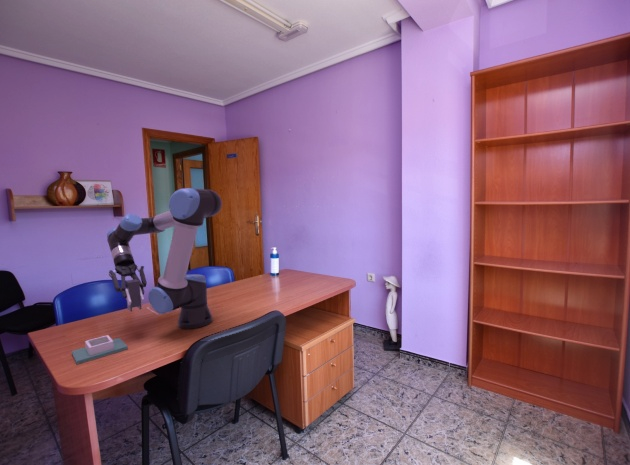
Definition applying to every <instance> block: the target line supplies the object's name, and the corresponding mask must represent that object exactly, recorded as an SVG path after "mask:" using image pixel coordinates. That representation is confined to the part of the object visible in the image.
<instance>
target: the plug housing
mask: <svg viewBox="0 0 630 465" xmlns="http://www.w3.org/2000/svg"><path fill="white" fill-rule="evenodd" d="M125 289H128V292H129V295H130V299H131V305H129V306H128V302H127V301H126V304H127V305H126V307H127V310H129V311H130V312H133V308H138V309H139V310H142V303H141V297H140V283H139V281H138V280H136V279H134V280H133V279H128V280H125Z"/></svg>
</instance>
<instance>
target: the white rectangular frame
mask: <svg viewBox="0 0 630 465" xmlns="http://www.w3.org/2000/svg"><path fill="white" fill-rule="evenodd" d="M146 309H148V310H149V311H150V312H153V313H154V314H156V315H157V316H160V315H161V313H158V312H156V311H155V310H154V311H153V310H152V309H150V306H147V307H146ZM179 309H180V308H178V309H175V310H173V311H171V312H170V313H172V312H175V311H179ZM166 314H169V312H167V313H166Z"/></svg>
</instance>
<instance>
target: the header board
mask: <svg viewBox="0 0 630 465" xmlns="http://www.w3.org/2000/svg"><path fill="white" fill-rule="evenodd" d="M84 343H85V346H84V347H82V348H81V347H80V348H77V349H73V350H71V355H72V356H73V359H74V362H75V364H76V365H79V364H80V365H81V364H82V363H83V364H84V363H87V362H90V361H92V360H93V361H94V360H96V359H100V358H103V357H106V356H110V355H113V354H117V353H119V352H123V351H126V350H128V349H129V348H128V345H127V344H126V343H125V342H124V340H122V338H120V337H118V338H114V339H113V338H112V337H110V335H109V334H106V335H102V336H99V337H95V338H91V339H88V340H85V342H84Z"/></svg>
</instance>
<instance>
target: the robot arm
mask: <svg viewBox="0 0 630 465" xmlns="http://www.w3.org/2000/svg"><path fill="white" fill-rule="evenodd" d="M222 206H223V200H222V198H221V196H220V194H218V193H217V192H216V191H214V190H212V189H207V188H206V189H205V188H204V189H202V188H200V189H199V188H191V187H188V188H187V187H186V188H180V189H177V190H175V191H174V193H172V195H171V196H170V198H169V201H168V209H169V210H167V211H165V212H162V213H159V214H157V215H154V216H151V217H142V218H141V217H140V216H138V214H133V213H126V215H125V216H123V218H122V219H121V220H120V223H118V225H117V227H115V228H112V229H111V230H108V231H107V233H106V239H107V240H106V241H107V243H108V247H109V250H110V253H111V257H112V260H113V263H114V264H113V265H114V269H112V270H111V269H110V270H109V271H108V276H109V277H110V278H111V281H112V283H113V288H114V290H115V292H116V293H119V292H120V293H121V294H122V298H123V299H125V300H126V303H127V302H128V306H129V305H131V299H130V295H129V292H128V289H126V284H125V281H126V277H130V278H131V279H132V280H134V279H136V280H138V281H139V283H140V297H141V304H142V303H144V300H145V297H144V295H145V289H144V288H146V287H147V279H146V275H145V270H144V269H145V266H144V265H141V266H138V265H137V264H136V262H135V259H134V256H133V253H132V250H131V247H130V242H131V241H132V239H133V238H134V236H138V235H139V236H140V235H147V234H159V233H163V232H164V231H166V229H170V228H173V227H174V228H173V232H172V237H171V241H170V245H169V250H168V254H167V258H166V263H165V266H164V271H163V275H161V276H159V277H158V279H157V284H156V286H154V287H152V288H151V289H149V291H148V296H147V298H148V299H147V300H148V302H149V304H150V308H152V309H153V310H154V312H156V313H157V314H160V315H163V314H168V313H172V312H174V310H178V309H180V311H179V314H178V319H177V327H178V328H180V329H186V330H188V329H189V330H191V329H192V330H193V329H199V328H202V327H205V326H208V325H210V324H211V323H212V322H213V315H212V313H211V312H212V311H211V310H210V309H209V308H210V307H209V305H208V294H207V293H208V292H207V280H206V276H205V275H203V274H198V273H197V274H196V273H193V274H187V273H188V268H189V264H190V259H191V257H192V252H193V249H194V244H195V240H196V237H197V233H198V228H200V227H202V226H203V225H204V220H205V219H206V218H210V217H214V216H216V215H218V214H219V213H220V211H221V209H222ZM136 271H137V272H138V273H139V276H138V275H137V274H136ZM117 274H118V275H119V276H120V280H121V281H120V284H121V285H120V284H119V280H118V278H117ZM139 277H140V278H139ZM171 311H172V312H171ZM167 312H168V313H167Z"/></svg>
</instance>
